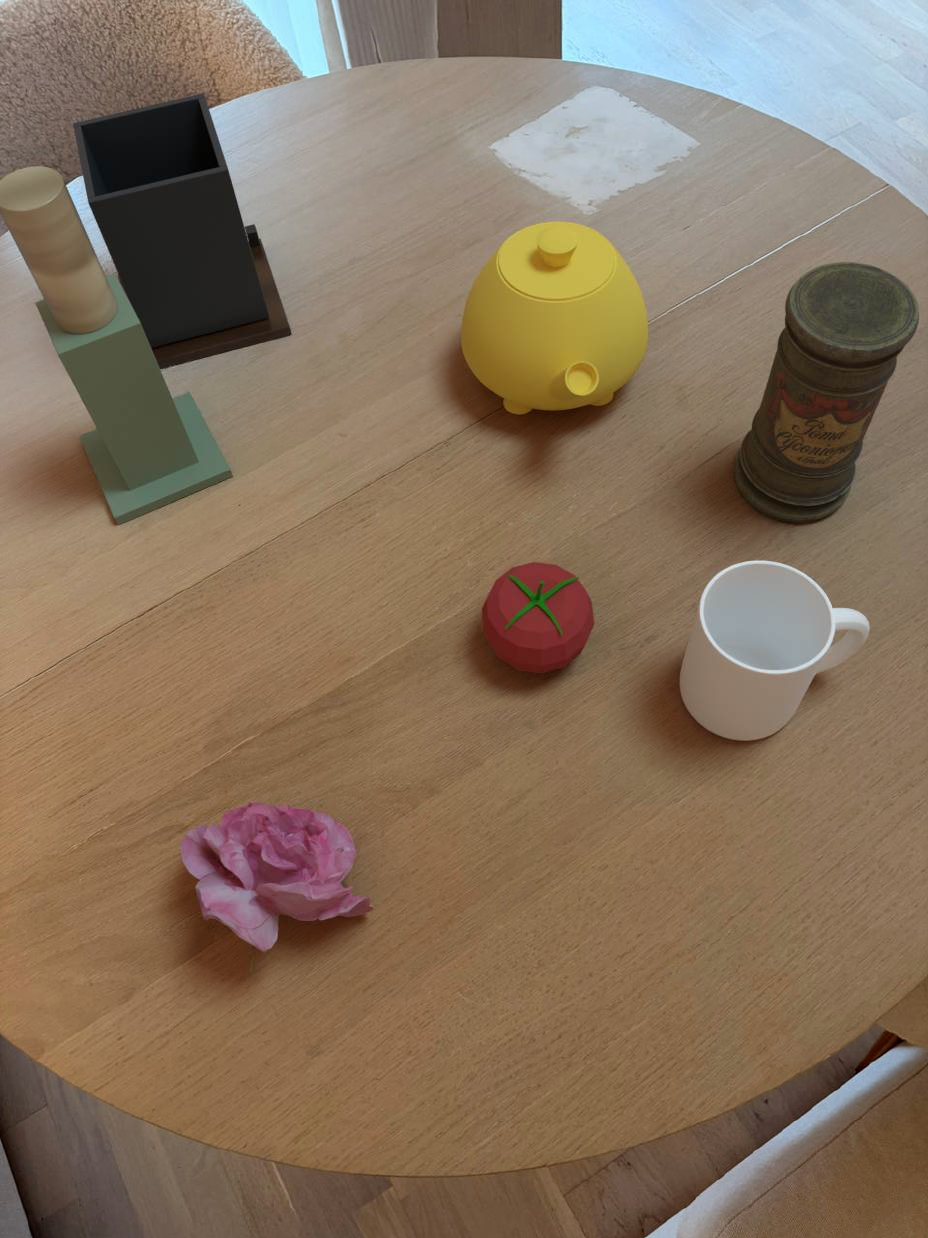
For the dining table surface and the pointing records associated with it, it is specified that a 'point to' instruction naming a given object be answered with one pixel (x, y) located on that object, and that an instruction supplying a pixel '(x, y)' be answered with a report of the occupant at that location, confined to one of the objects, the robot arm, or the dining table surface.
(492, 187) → the dining table surface
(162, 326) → the bin
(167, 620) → the dining table surface
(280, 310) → the bin stand
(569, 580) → the tomato
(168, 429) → the pedestal
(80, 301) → the cylinder
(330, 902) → the flower
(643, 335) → the teapot
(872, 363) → the container
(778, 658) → the mug
